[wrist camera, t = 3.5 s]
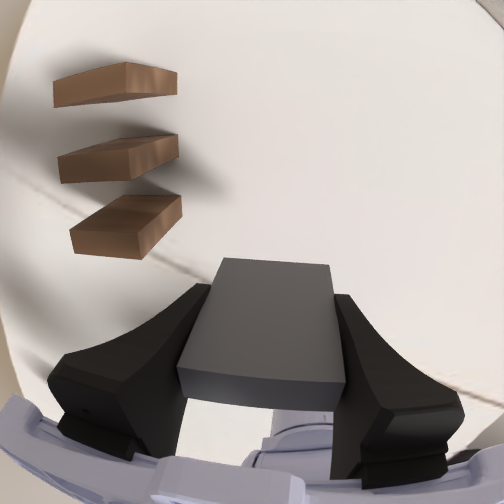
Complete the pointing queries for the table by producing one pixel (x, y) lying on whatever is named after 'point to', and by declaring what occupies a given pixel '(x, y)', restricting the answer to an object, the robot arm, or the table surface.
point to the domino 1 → (114, 85)
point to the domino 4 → (266, 339)
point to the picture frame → (494, 9)
